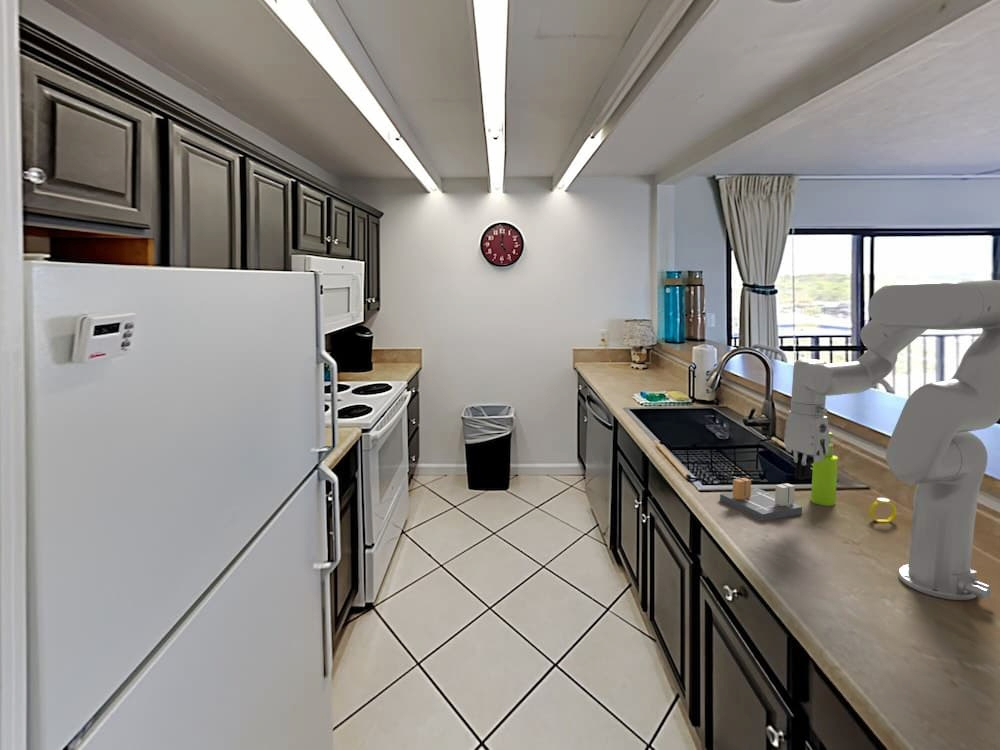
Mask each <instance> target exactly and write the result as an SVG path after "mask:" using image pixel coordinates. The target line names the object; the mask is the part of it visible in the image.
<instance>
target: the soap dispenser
mask: <svg viewBox="0 0 1000 750" xmlns="http://www.w3.org/2000/svg"><path fill="white" fill-rule="evenodd" d="M833 436H834V433H833V432H831V431H829V452H828V454H825V455H824V454H823V455H824V461H821V462H814V463H813V464H812V475H811V476H812V478H811V479H812V480H811V491H810V493H811V496H810V501H811V502H812V503H814V504H815V505H816V504H817V505H820V506H827V507H828V506H829V507H830V506H831V507H832V506H834V505H836V499H837V498H836V497H837V496H836V495H837V484H838V483H837V480H838V478H837V477H838V463H839V457H838V456H836V455H834V444H833V443H831V437H833Z"/></svg>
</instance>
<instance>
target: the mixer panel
mask: <svg viewBox="0 0 1000 750" xmlns="http://www.w3.org/2000/svg"><path fill="white" fill-rule="evenodd" d="M719 501H720V502H722V503H724V504H726V505H728V506H730V507H732V508H734V509H737V510H739V511H740V512H743V513H744V514H746V515H748V516H751V517H752V518H755V519H757V520H759V521H760V522H767V521H773V520H777V519H779V520H780V519H784V518H788V517H795V516H799V515H803V506H801V505H800V504H799V505H798V504H797V503H794V504H791V505H786V506H781V505H778V504H776V503H775V494H772V493H771V492H768V491H767V490H766V491H765V490H764V489H761V488H759V487H753V488H751V498H746V499H740V500H738V499H736V498H734V497H733V491H730V492H724V493H722V492H721V493H720V494H719Z"/></svg>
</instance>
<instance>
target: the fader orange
mask: <svg viewBox="0 0 1000 750" xmlns="http://www.w3.org/2000/svg"><path fill="white" fill-rule="evenodd" d="M751 489H752V480H751V479H750V478H747V477H741V478H740V477H739V478H734V479H732V492H733V497H734V498H736V499H738V500H740V499H746V498H751Z"/></svg>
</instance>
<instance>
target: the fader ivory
mask: <svg viewBox="0 0 1000 750" xmlns="http://www.w3.org/2000/svg"><path fill="white" fill-rule="evenodd" d="M795 487H796V486H795V485H793V484H790V483H788V482H787V483H786V482H785V483H781V484H775V492H774V493H775V494H774V495H775V503H776V504H778V505H781V506H786V505H791V504H795V490H796V489H795Z"/></svg>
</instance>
